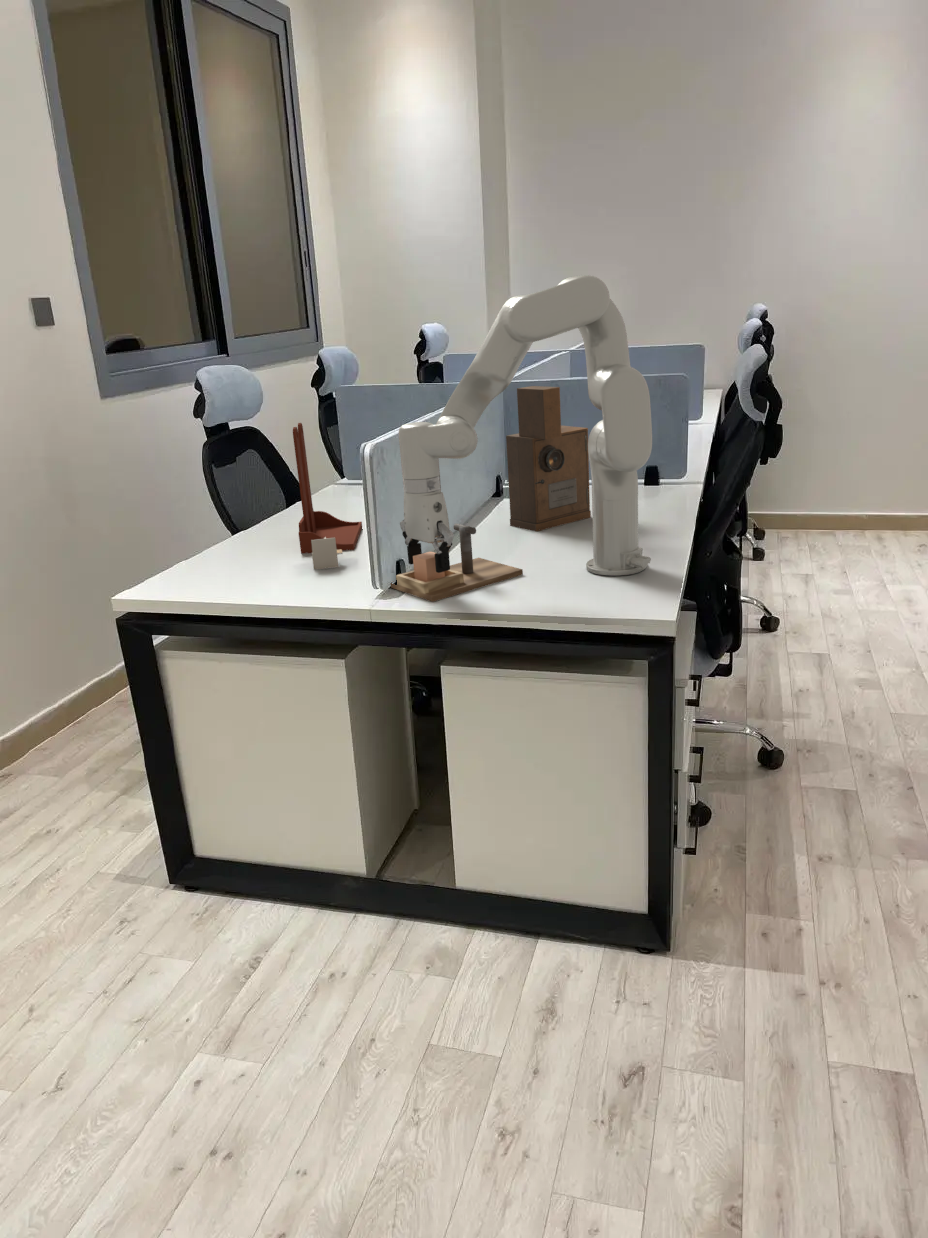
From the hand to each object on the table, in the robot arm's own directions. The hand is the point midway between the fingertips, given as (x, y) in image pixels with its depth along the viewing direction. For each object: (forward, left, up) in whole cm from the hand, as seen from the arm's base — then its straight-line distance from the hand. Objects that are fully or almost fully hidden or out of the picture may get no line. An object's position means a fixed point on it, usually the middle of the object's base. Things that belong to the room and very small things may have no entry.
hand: (429, 566), depth 193 cm
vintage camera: (+23, -55, -5) cm, 60 cm away
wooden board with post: (0, -7, -5) cm, 8 cm away
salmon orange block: (0, 0, -4) cm, 4 cm away
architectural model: (+33, +6, -6) cm, 34 cm away
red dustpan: (+55, -9, -5) cm, 56 cm away
